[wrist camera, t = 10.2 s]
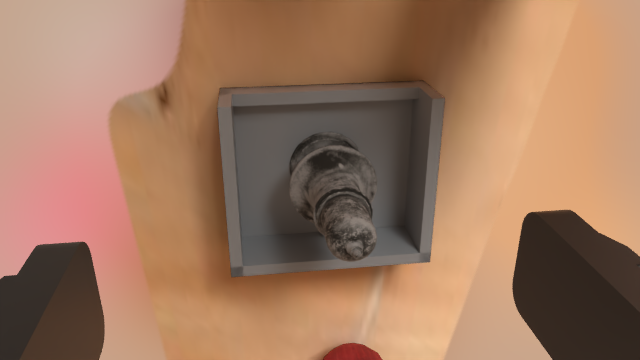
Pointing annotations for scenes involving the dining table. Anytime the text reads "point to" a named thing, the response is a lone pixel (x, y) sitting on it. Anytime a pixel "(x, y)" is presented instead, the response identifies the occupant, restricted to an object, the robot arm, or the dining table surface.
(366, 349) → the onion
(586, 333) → the robot arm
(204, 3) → the dining table surface
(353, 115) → the box
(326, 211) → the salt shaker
